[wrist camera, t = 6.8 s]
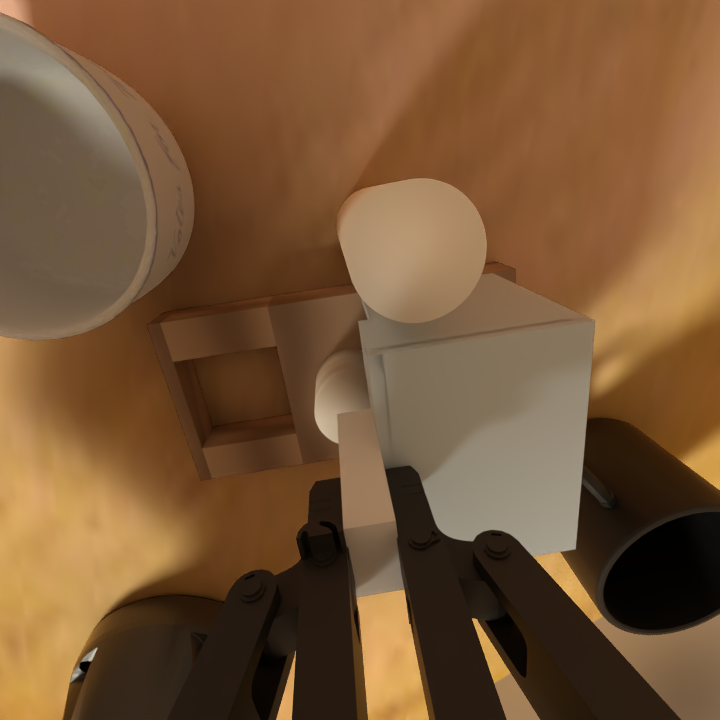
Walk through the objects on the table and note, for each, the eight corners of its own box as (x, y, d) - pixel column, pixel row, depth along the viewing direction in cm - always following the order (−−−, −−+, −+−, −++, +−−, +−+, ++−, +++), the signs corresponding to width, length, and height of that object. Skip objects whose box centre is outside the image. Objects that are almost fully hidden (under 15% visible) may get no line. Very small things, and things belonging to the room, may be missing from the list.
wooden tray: (211, 456, 27) (182, 522, 22) (164, 312, 24) (114, 348, 18) (498, 410, 28) (541, 464, 22) (497, 261, 24) (548, 281, 18)
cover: (374, 453, 25) (398, 579, 17) (351, 294, 21) (367, 356, 13) (494, 434, 25) (575, 549, 17) (492, 272, 22) (595, 320, 13)
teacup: (249, 249, 23) (213, 275, 15) (80, 327, 24) (-32, 388, 16) (89, -58, 18) (-83, -242, 10) (-120, 57, 18) (-419, -36, 11)
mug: (583, 366, 27) (698, 443, 19) (669, 466, 31) (797, 567, 22) (474, 457, 29) (535, 562, 21) (568, 540, 33) (651, 658, 24)
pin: (342, 267, 23) (357, 332, 12) (330, 192, 22) (336, 189, 11) (411, 257, 24) (487, 312, 12) (404, 181, 22) (485, 167, 11)
